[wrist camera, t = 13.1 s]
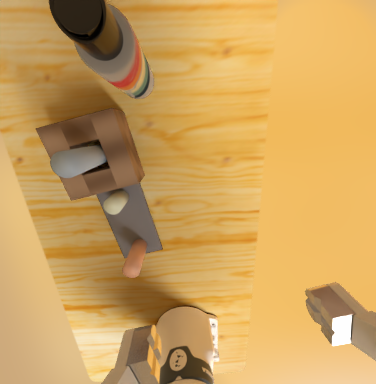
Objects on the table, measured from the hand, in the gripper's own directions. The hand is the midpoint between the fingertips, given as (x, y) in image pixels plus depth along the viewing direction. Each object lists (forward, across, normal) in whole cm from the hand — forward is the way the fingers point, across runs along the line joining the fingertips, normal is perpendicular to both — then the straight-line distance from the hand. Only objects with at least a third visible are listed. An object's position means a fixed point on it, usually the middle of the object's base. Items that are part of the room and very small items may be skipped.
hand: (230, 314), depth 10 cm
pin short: (+29, +15, 0) cm, 32 cm away
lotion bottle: (+29, +5, -19) cm, 35 cm away
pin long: (+29, +14, -9) cm, 34 cm away
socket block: (+29, +15, -9) cm, 34 cm away
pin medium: (+29, +15, +12) cm, 35 cm away
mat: (+29, +15, +6) cm, 33 cm away
